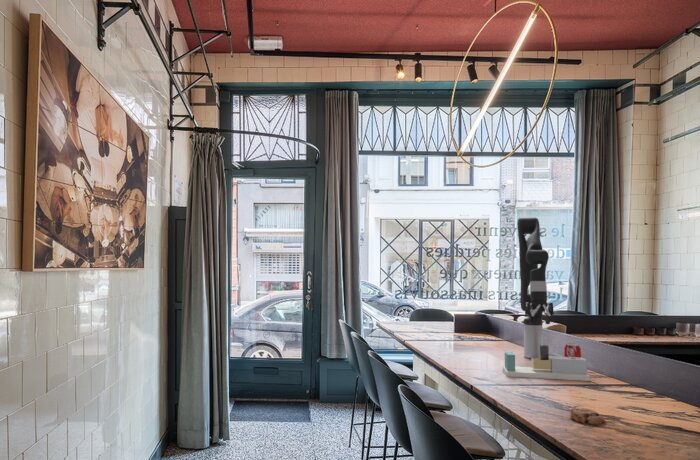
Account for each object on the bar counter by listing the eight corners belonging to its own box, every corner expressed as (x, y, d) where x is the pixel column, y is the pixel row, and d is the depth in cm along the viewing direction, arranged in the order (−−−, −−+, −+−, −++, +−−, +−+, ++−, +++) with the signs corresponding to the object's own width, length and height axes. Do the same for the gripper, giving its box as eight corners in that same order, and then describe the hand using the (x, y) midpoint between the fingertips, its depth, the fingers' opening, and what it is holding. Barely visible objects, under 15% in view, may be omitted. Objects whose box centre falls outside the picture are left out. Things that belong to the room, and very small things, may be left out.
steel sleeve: (548, 369, 210) (548, 356, 210) (582, 371, 207) (582, 357, 208) (552, 372, 204) (551, 358, 204) (587, 374, 201) (586, 360, 202)
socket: (504, 366, 214) (504, 351, 215) (512, 367, 214) (512, 351, 214) (507, 370, 206) (507, 354, 207) (515, 371, 206) (515, 355, 206)
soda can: (584, 372, 215) (583, 345, 215) (568, 372, 215) (568, 345, 216) (577, 368, 222) (576, 343, 223) (562, 368, 222) (561, 342, 223)
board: (502, 370, 216) (502, 365, 216) (581, 374, 210) (581, 369, 210) (506, 376, 204) (506, 371, 205) (590, 380, 198) (590, 376, 198)
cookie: (592, 414, 154) (592, 405, 154) (611, 425, 143) (610, 415, 144) (562, 414, 154) (562, 405, 154) (579, 425, 143) (579, 415, 143)
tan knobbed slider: (531, 366, 210) (531, 344, 211) (580, 369, 207) (580, 346, 207) (533, 368, 206) (533, 345, 207) (583, 371, 203) (582, 347, 203)
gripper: (546, 290, 235) (547, 323, 233) (521, 290, 232) (522, 323, 229) (556, 290, 228) (557, 324, 225) (530, 290, 224) (531, 324, 222)
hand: (539, 324), depth 227 cm, fingers open, 8 cm apart
